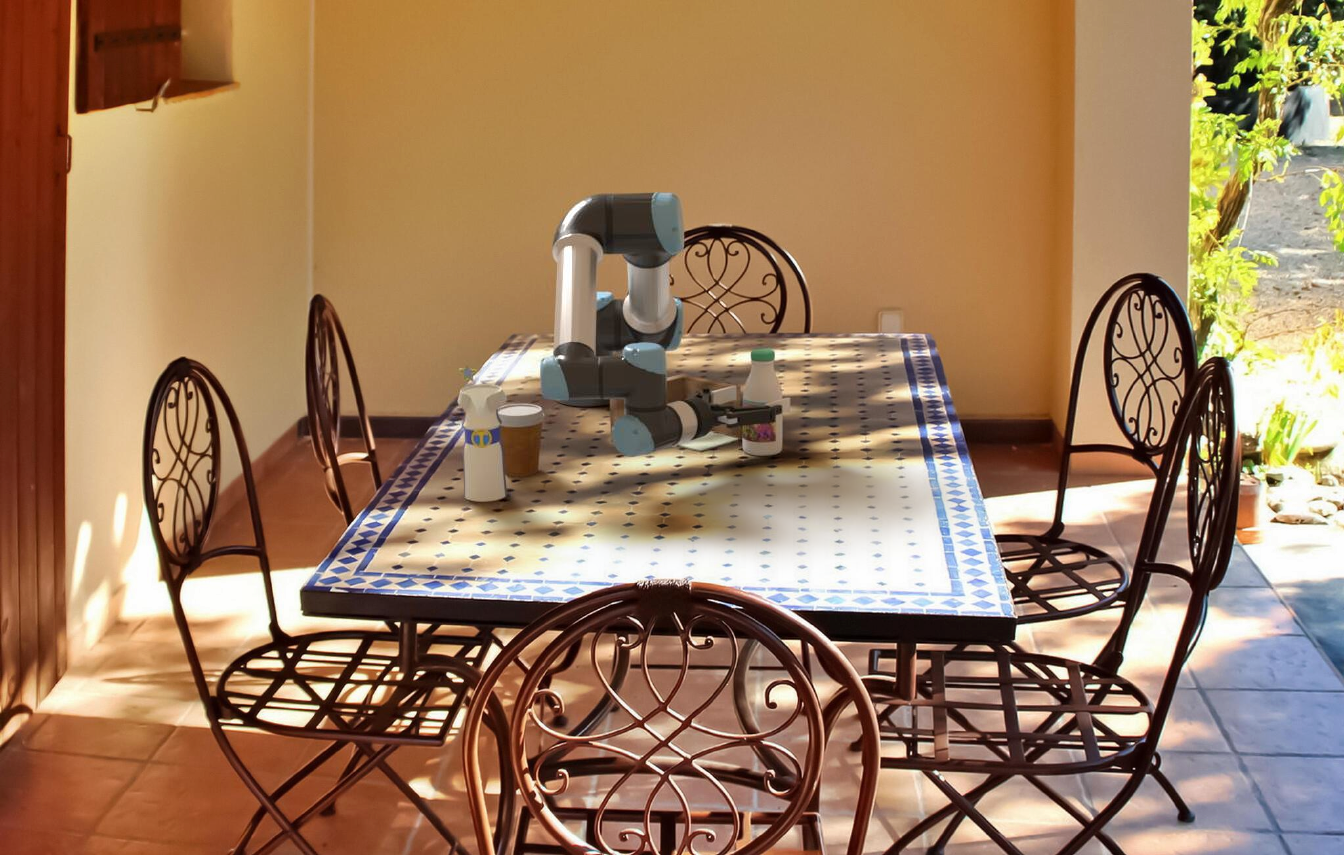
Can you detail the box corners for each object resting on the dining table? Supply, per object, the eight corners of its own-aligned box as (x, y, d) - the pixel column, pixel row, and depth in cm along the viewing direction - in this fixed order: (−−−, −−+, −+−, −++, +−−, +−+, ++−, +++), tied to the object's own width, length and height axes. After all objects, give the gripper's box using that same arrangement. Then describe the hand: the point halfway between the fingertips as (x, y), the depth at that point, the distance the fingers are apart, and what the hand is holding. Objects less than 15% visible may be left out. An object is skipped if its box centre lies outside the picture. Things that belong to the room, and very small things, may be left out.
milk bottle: (755, 443, 285) (756, 344, 279) (789, 449, 281) (790, 349, 275) (734, 452, 279) (734, 352, 273) (769, 459, 275) (769, 357, 269)
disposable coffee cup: (496, 464, 273) (493, 403, 270) (546, 463, 274) (544, 402, 271) (494, 480, 264) (491, 417, 261) (546, 478, 265) (544, 415, 262)
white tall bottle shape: (510, 501, 253) (503, 362, 246) (461, 503, 252) (453, 364, 245) (511, 486, 260) (505, 352, 254) (464, 488, 260) (456, 353, 253)
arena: (610, 441, 288) (609, 392, 285) (683, 419, 302) (682, 373, 299) (677, 459, 275) (676, 408, 272) (749, 436, 290) (749, 388, 287)
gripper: (637, 427, 271) (713, 406, 285) (735, 453, 254) (811, 429, 269) (636, 389, 269) (713, 369, 283) (735, 413, 252) (812, 390, 266)
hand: (761, 398), depth 276 cm, fingers open, 13 cm apart
